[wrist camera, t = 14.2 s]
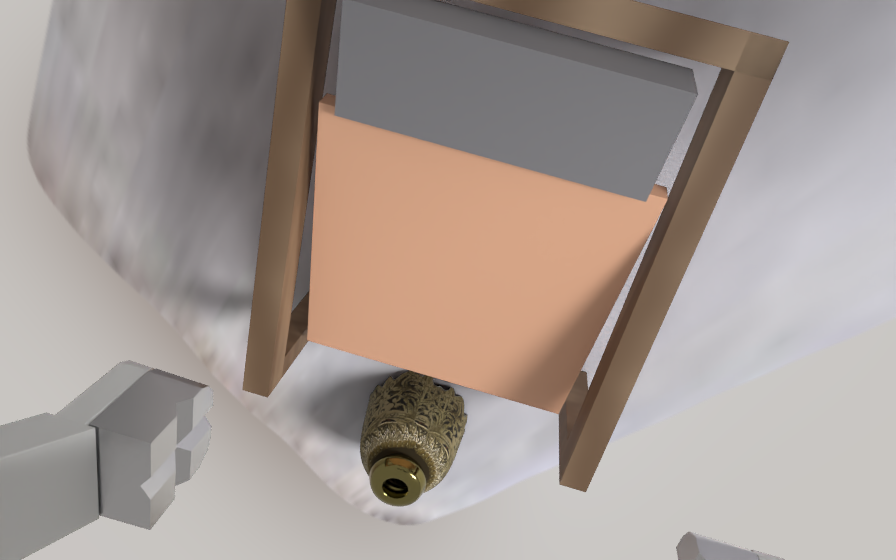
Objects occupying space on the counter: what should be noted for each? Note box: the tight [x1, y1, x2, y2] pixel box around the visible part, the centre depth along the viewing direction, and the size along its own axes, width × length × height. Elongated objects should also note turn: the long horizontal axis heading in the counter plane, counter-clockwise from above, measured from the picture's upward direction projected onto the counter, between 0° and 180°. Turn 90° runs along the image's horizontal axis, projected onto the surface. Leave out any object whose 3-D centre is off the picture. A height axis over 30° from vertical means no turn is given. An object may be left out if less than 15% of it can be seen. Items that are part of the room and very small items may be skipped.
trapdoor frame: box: [243, 0, 789, 492], centre depth 34 cm, size 20×24×10 cm
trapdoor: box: [307, 0, 698, 414], centre depth 32 cm, size 16×21×2 cm
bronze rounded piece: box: [360, 371, 467, 506], centre depth 43 cm, size 8×7×8 cm
